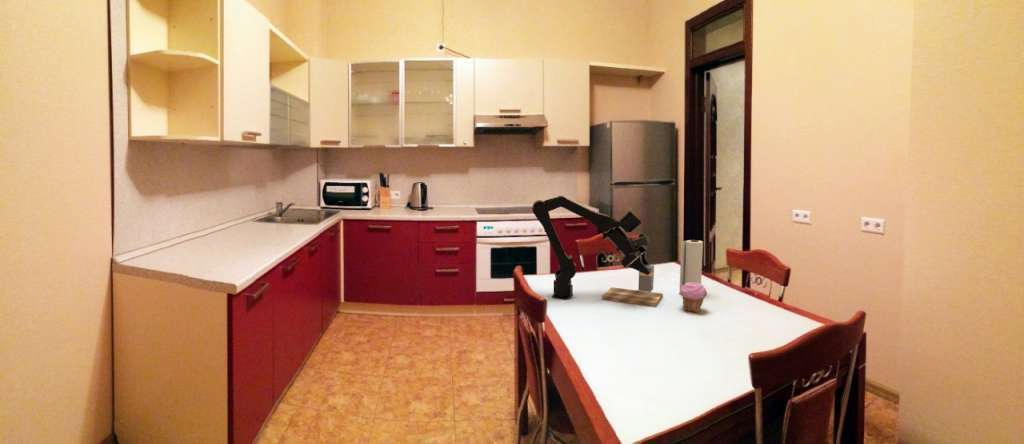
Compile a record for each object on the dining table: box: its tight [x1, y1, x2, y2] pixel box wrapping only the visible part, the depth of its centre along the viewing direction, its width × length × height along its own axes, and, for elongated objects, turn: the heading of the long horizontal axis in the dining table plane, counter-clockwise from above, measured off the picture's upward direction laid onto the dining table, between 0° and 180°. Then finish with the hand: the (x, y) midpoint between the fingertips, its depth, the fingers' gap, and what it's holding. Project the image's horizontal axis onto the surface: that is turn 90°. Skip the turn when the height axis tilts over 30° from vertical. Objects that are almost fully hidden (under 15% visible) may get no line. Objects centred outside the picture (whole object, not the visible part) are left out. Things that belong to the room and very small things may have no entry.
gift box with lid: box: [638, 264, 655, 292], centre depth 171 cm, size 5×5×9 cm
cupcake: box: [679, 282, 708, 313], centre depth 160 cm, size 9×9×10 cm
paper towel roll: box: [678, 239, 704, 296], centre depth 177 cm, size 7×6×21 cm
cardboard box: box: [601, 286, 664, 308], centre depth 174 cm, size 20×13×2 cm, turn 62°
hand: (650, 272), depth 170 cm, fingers closed on gift box with lid, 5 cm apart
